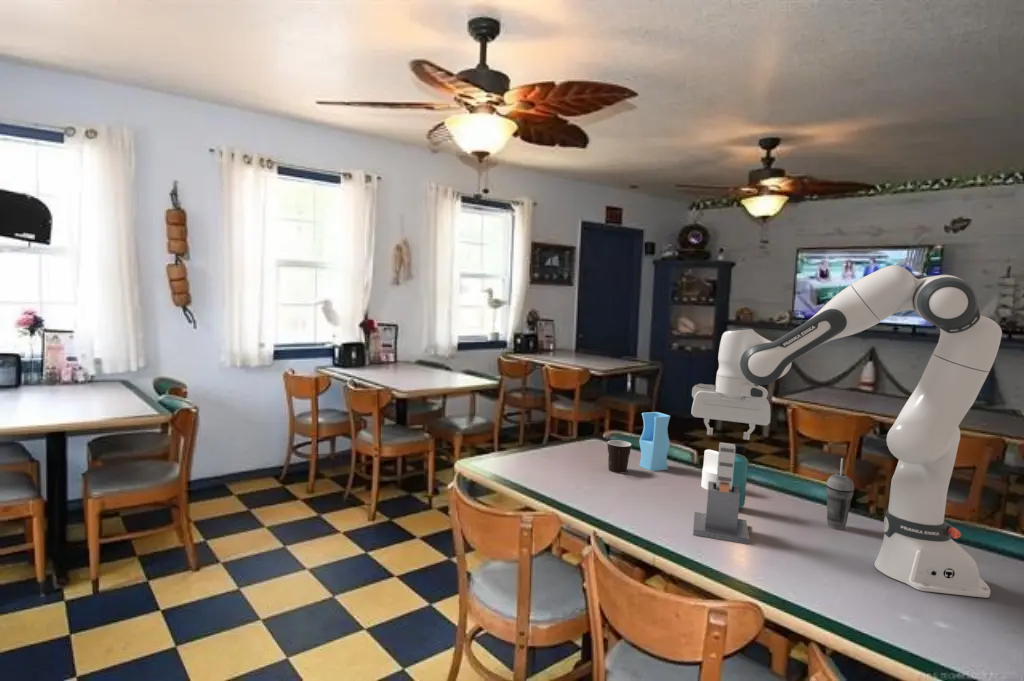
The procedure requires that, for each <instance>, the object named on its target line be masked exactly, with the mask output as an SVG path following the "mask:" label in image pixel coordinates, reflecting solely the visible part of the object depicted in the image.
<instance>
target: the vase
mask: <svg viewBox="0 0 1024 681" xmlns="http://www.w3.org/2000/svg"><path fill="white" fill-rule="evenodd" d="M641 416H642V420H643V428H642V429H643V430H642V433H641V435H640V438H639V441H638V443H639V447H640V448H639V449H640V462H639V465H638V466H639V467H641V468H643V469H645V470H648V471H651V472H659V471H665V470H668V469H669V468H668V461H667V460H668V459H667V458H668V453H669V449H670V446H671V442H670V439H669V433H668V431H669V430H668V426H669V422H670V419H671V415H669V414H666V413H662V412H658V411H651V412H642V413H641Z"/></svg>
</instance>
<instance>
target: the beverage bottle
mask: <svg viewBox="0 0 1024 681" xmlns="http://www.w3.org/2000/svg"><path fill="white" fill-rule="evenodd" d="M734 444H735V447H736V448H735V459H734V471H733V482H732V485H738V486H739V492H740V500H739V508H744V506H745V503H746V501H745V500H746V491H747V480H748V479H747V478H748V474H747V473H748V472H747V471H748V463H749V460H748V459H747V458H746V456H745V455H743V454H745V451H746V449H745V445H744V444H740V443H734Z"/></svg>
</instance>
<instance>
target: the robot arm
mask: <svg viewBox="0 0 1024 681" xmlns="http://www.w3.org/2000/svg"><path fill="white" fill-rule="evenodd" d="M903 311H914V312H915V313H916V314H917V315H918V316H919V318H922V319H923V320H925V321H926V322H928V323H930V324H931V325H933V326H936V327H937V328H939V330H940V331H939V332H940V334H939V338H938V341H937V342H938V343H937V344H936V346H935V348H934V350H933V352H932V354H931V355H930V358H929V361H928V363H927V365H926V367H925V369H924V371H923V373H922V376H921V378H920V380H919V382H918V384H917V386H916V387H915V389H914V390H913V391H912V393H911V395H910V396H909V398H908V399H907V401H906V403H905V404H904V406H903V407H902V409H901V411H900V412H899V414H898V416H897V417H896V419H895V421H894V423H893V425H892V426H891V427H890V429H889V430H888V432H887V434H886V446H887V447H888V450H889V452H890V453H891V454H892V455H893V457H895V458H896V459H897V460H898V462H897V465H896V467H895V471H894V474H893V475H892V478H891V484H890V490H889V499H888V500H889V501H888V508H887V509H886V511H885V516H884V519H883V521H884V522H883V533H884V535H883V538H882V543H881V546H880V549H879V553H878V555H877V556H876V559H875V561H874V563H873V564H874V567H875V568H876V569H877V570H878V571H879V572H880V573H881V574H883V575H886V576H887V577H889V578H892V579H894V580H896V581H899V582H901V583H904V584H906V585H908V586H910V587H912V588H914V589H916V590H919V591H921V592H930V593H938V594H939V593H940V594H946V595H947V594H948V595H957V596H964V597H965V596H967V597H975V598H976V597H978V598H985V599H987V598H988V599H989V598H990V597H991V589H990V587H989V585H988V584H987V583H986V581H985V580H983V579H982V578H981V577H980V574H979V568H978V565H977V562H976V561H975V559H974V558H973V557H972V556H971V555H970V554H969V553H968V552H967V551H966V550H964V548H962V547H961V546H960V545H959V544H958V543H957V542H956V541H954V540H953V539H959V538H961V536H962V533H961V531H960V530H959V529H958V528H955V527H953V526H952V525H951V524H949V523H948V522H946V521H945V513H946V506H947V497H948V490H949V485H950V481H951V478H952V475H953V470H954V466H955V464H956V459H957V453H958V448H959V444H960V441H961V429H960V427H959V425H960V424H961V422H962V421H963V420H964V418H965V416H966V415H967V413H968V412H969V410H970V409H971V407H973V405H974V403H975V401H976V399H977V398H978V395H979V394H980V391H981V389H982V387H983V385H984V383H985V382H986V380H987V377H988V376H989V373H990V371H991V369H992V367H993V365H994V363H995V359H996V357H997V355H998V351H999V349H1000V348H999V347H1000V344H1001V340H1002V335H1003V331H1002V328H1001V326H1000V324H999V323H997V322H996V321H995V320H993V319H991V318H989V317H987V316H984V315H981V312H980V308H979V301H978V296H977V294H976V291H975V290H974V288H973V286H972V285H971V284H970V283H968V282H967V281H965V280H964V279H962V278H960V277H957V276H955V275H950V274H939V275H938V274H936V275H935V274H933V275H928V276H927V275H926V276H920V277H919V276H918V277H915V275H914V274H913V273H912V272H910V270H908V269H907V268H904V266H900V265H894V264H893V265H892V264H890V265H887V266H884V267H882V268H880V269H878V270H875V271H873V272H871V273H869V274H867V275H865V276H863V277H861V278H859V279H858V280H856V281H854V282H852V283H851V284H850V285H848V286H846V287H845V288H844V289H841V290H840V291H839V292H838V293H837V294H836V295H835V296H833V297H832V298H831V299H830V300H829V301H828V302H827V303H825V305H824V306H822V307H821V309H819V310H818V311H817V312H816V313H815V314H814V315H813V316H812V317H811V318H809V319H807V321H805V322H804V323H802V324H800V325H798V326H797V327H795V328H793V329H792V330H791V331H789V332H788V333H786V334H784V335H783V336H781V337H779V338H777V339H775V340H774V341H772V340H769V339H767V338H765V337H763V336H762V335H760V334H759V333H757V332H756V331H755V330H754V329H753V328H751V327H741V328H730V329H727V330H725V331H724V332H723V333H722V335H721V339H720V342H719V347H718V348H719V349H718V355H717V356H718V357H717V360H718V369H717V371H716V377H715V384H704V383H698V384H695V385H694V386H693V387H692V389H691V397H692V399H693V402H692V406H691V412H690V413H691V415H692V416H693V417H694V418H702V419H703V424H704V425H705V427H706V430H707V431H706V435H708V436H713V432H714V427H710V424H709V423H710V420H718V421H724V422H725V421H727V422H733V423H740V424H741V423H743V424H748V426H749V429H748V430H747V431H743V435H742V437H743V438H742V439H743V440H745V441H746V440H747V441H750V438H751V437H750V436H751V434H752V433H753V432H754V431H755V429H756V425H759V426H768V425H769V424H771V405H770V403H769V400H768V395H769V392H768V390H767V389H766V388H765V387H763V386H766V385H771V384H772V383H774V382H776V381H777V380H778V379H781V378H782V377H783V376H785V375H786V374H788V372H789V371H791V370H790V369H791V368H792V365H793V362H794V361H795V360H797V359H799V358H800V357H802V356H804V355H805V354H807V353H809V352H810V351H812V350H814V349H815V348H817V347H820V346H821V345H823V344H825V343H828V342H831V341H833V340H837V339H841V338H846V337H849V336H852V335H855V334H858V333H861V332H863V331H865V330H868V329H870V328H872V327H873V326H876V325H878V324H879V323H881V322H883V321H884V320H886V319H888V318H889V317H891V316H892V315H894V314H897V313H900V312H903Z"/></svg>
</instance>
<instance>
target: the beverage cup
mask: <svg viewBox="0 0 1024 681" xmlns="http://www.w3.org/2000/svg"><path fill="white" fill-rule="evenodd" d="M843 465H844V457H841V458H840V470H839V473H834V474H832V475H831V476H829V478H828V479H827V480H826V484H825V487H826V488H825V490H826V496H827V497H826V500H827V501H826V522H827V527H828V528H831V529H834V530H838V531H843V530H846V525H847V522H848V518H849V511H850V506H851V502H852V498H853V496H854V492H855V488H854V487H855V486H854V485H855V484H854V481H853V480H852V479H851V477H849V476H848V475H846V474H844V473H843Z"/></svg>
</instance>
